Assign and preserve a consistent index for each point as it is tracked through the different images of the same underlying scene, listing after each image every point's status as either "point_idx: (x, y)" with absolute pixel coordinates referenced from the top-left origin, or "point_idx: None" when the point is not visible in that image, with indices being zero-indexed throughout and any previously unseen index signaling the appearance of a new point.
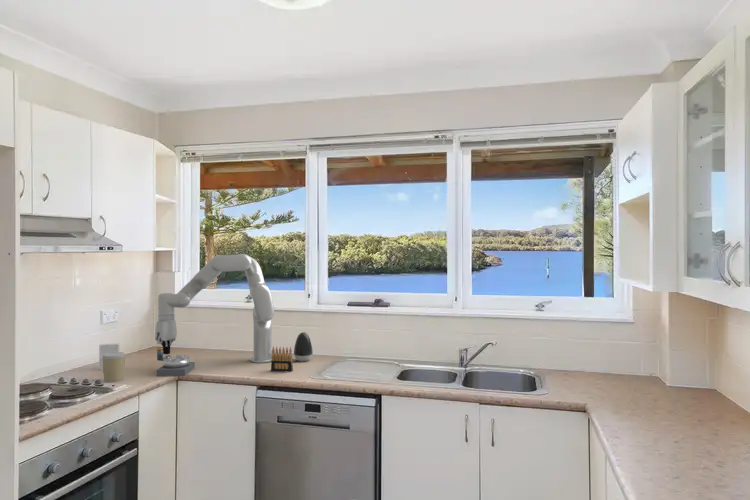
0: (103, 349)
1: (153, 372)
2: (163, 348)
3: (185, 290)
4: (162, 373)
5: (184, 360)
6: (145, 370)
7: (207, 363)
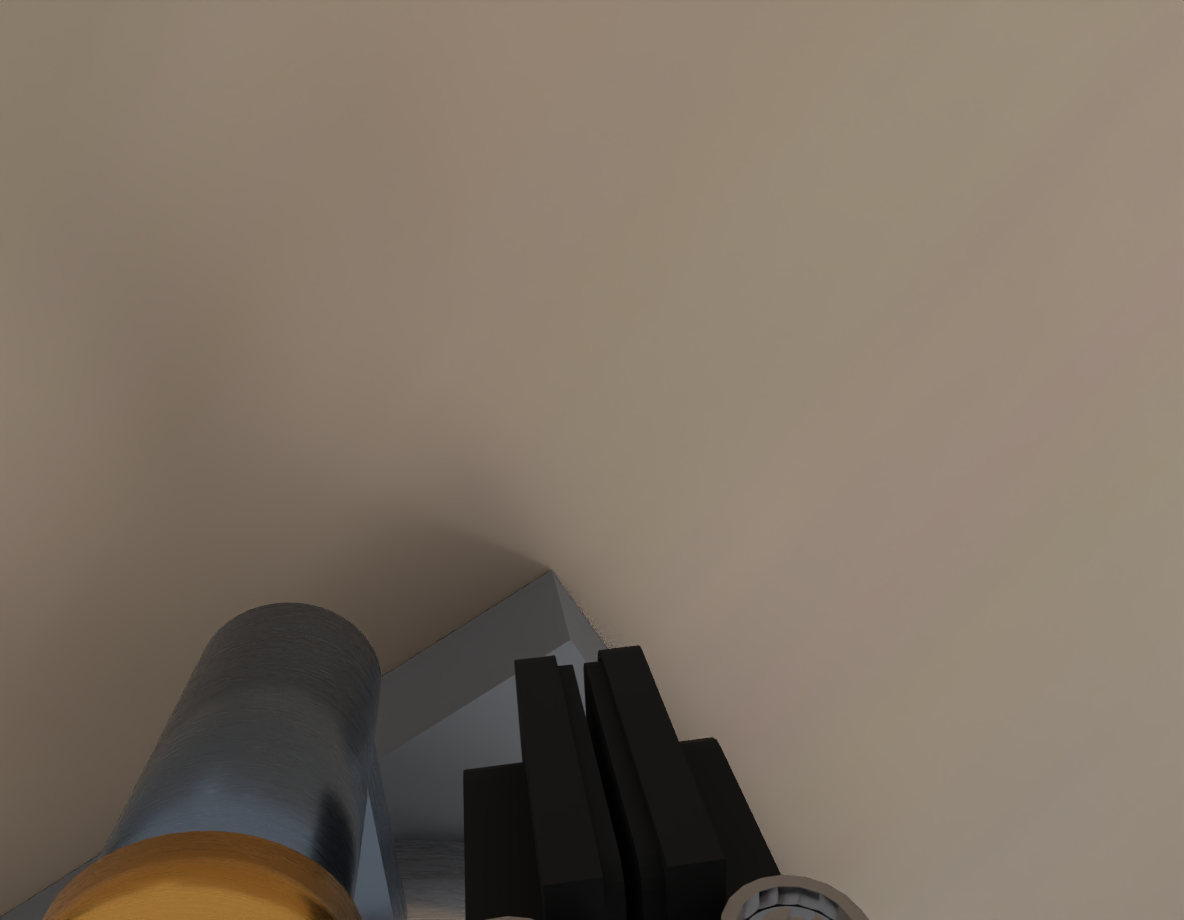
0: None
1: (76, 634)
2: (468, 907)
3: None
4: None
5: None
6: (67, 273)
7: (1181, 860)
